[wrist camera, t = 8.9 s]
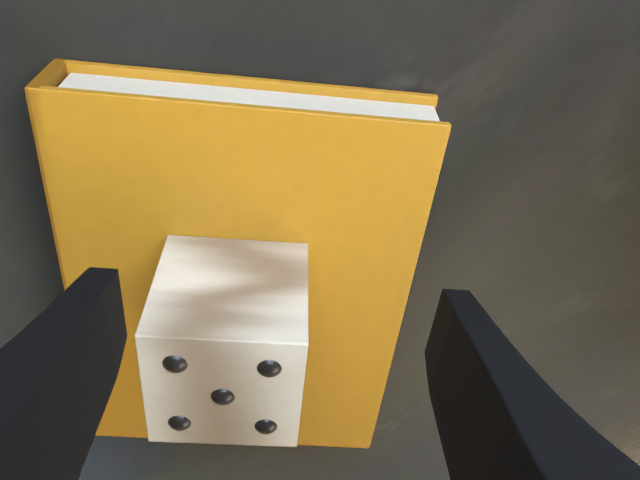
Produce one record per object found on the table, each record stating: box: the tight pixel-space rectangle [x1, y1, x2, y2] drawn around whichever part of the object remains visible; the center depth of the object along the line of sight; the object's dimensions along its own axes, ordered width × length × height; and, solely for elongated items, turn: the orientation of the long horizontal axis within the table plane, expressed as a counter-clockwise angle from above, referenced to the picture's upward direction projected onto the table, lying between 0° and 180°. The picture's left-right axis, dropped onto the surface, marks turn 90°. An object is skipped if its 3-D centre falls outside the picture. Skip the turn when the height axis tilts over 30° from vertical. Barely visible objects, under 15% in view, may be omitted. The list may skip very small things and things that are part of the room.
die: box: [134, 235, 309, 447], centre depth 20 cm, size 5×5×5 cm
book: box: [24, 59, 451, 448], centre depth 24 cm, size 13×17×3 cm
